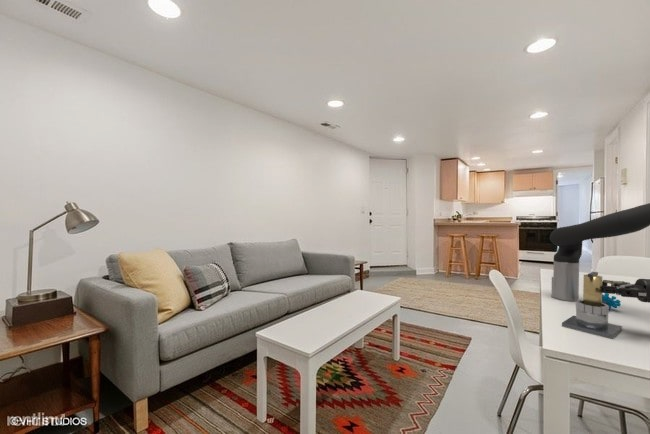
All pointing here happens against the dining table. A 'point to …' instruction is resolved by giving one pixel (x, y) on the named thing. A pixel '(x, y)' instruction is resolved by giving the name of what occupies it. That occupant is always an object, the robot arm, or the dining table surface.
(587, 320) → the pipe socket
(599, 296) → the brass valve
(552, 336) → the dining table surface
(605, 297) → the gear
